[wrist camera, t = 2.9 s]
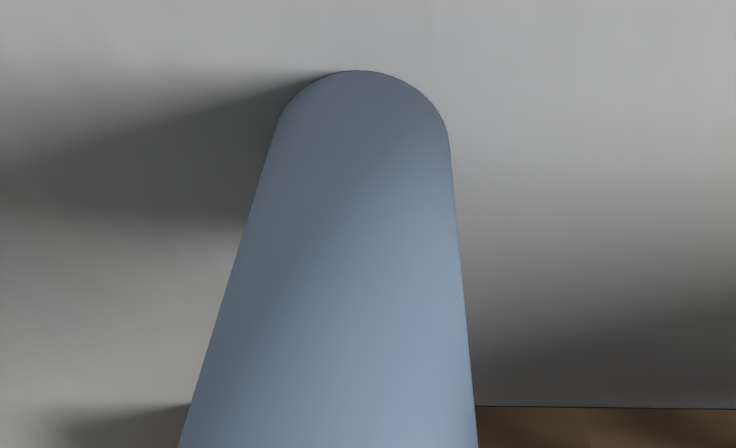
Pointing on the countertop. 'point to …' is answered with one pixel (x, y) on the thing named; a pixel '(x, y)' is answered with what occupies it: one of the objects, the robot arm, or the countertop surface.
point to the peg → (344, 285)
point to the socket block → (604, 428)
